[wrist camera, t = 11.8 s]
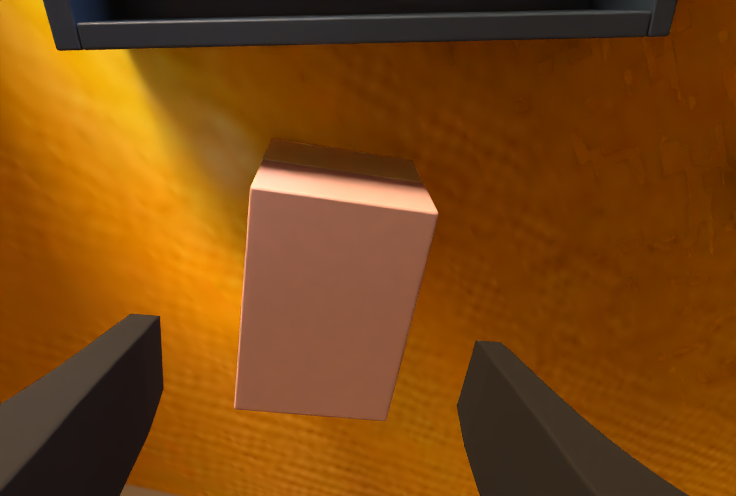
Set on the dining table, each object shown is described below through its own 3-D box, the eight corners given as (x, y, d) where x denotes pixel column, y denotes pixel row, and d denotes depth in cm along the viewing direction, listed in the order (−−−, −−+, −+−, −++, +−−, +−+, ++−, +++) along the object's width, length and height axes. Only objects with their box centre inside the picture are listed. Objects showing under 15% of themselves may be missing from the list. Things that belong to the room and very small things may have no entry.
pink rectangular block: (255, 319, 20) (233, 410, 16) (271, 138, 17) (249, 186, 12) (374, 332, 21) (386, 422, 16) (412, 159, 18) (439, 213, 13)
